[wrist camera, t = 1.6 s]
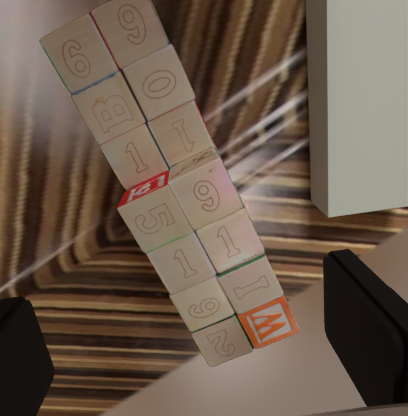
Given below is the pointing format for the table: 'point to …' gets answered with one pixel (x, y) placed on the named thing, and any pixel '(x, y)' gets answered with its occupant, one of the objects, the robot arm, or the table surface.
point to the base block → (358, 104)
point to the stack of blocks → (171, 177)
